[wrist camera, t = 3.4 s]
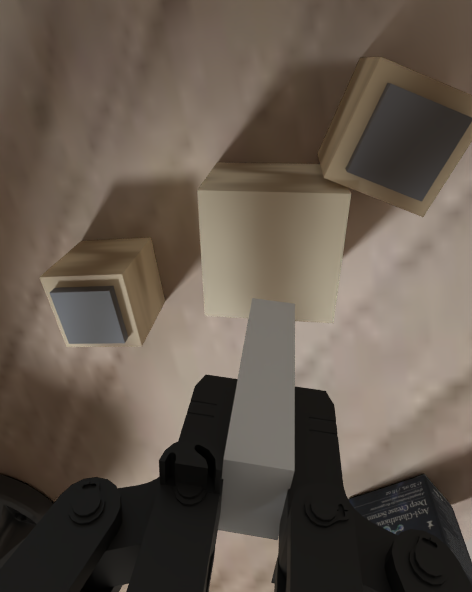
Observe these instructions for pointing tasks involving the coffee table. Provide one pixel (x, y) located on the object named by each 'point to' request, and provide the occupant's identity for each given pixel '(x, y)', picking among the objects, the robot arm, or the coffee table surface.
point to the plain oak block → (271, 238)
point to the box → (415, 514)
